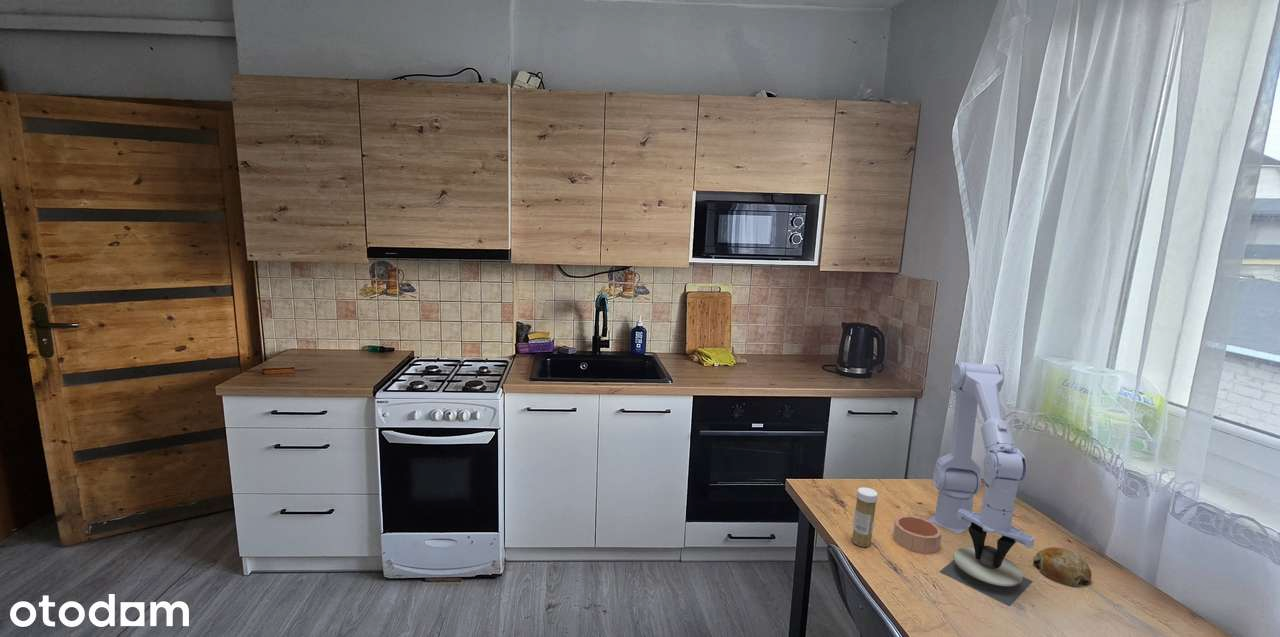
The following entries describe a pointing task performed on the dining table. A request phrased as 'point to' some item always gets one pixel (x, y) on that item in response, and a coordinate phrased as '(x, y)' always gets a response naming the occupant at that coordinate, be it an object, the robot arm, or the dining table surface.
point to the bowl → (917, 534)
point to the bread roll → (1063, 566)
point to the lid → (988, 566)
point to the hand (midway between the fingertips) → (988, 561)
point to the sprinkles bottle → (864, 517)
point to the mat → (987, 585)
